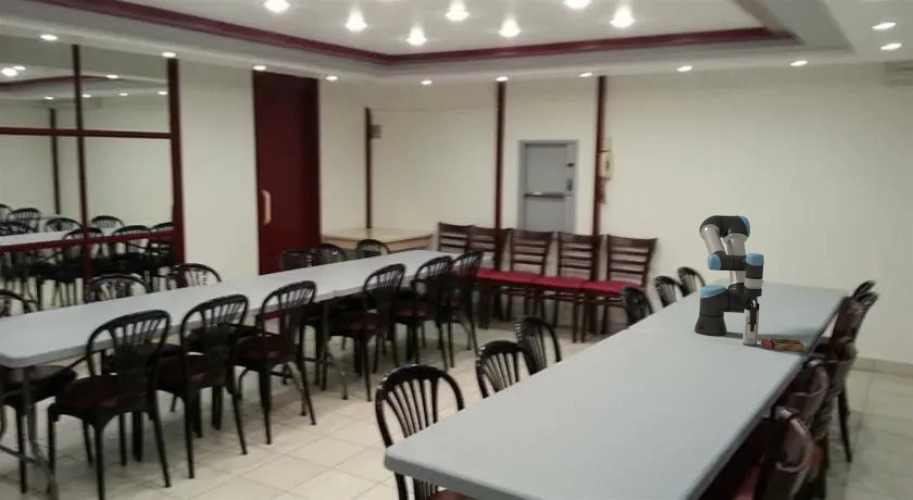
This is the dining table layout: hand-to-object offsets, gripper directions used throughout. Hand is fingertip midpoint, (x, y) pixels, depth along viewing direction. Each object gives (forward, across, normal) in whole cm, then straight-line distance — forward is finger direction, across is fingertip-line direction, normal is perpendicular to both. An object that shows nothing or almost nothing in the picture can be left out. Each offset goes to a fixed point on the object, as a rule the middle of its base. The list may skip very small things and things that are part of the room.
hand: (750, 336), depth 330 cm
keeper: (+4, -1, -16) cm, 16 cm away
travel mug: (+4, 0, 0) cm, 4 cm away
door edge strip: (+4, -1, -7) cm, 8 cm away
